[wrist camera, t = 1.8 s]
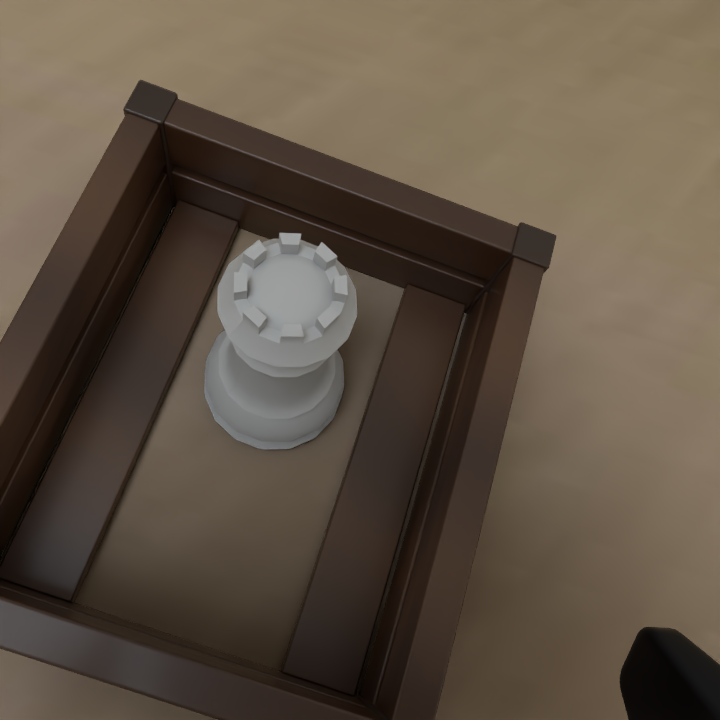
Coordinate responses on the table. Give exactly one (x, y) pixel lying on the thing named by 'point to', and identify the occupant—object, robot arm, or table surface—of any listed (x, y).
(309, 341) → the rook chess piece
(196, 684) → the crate
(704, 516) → the table surface
